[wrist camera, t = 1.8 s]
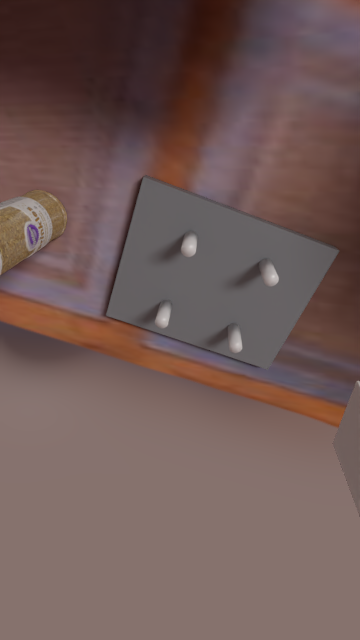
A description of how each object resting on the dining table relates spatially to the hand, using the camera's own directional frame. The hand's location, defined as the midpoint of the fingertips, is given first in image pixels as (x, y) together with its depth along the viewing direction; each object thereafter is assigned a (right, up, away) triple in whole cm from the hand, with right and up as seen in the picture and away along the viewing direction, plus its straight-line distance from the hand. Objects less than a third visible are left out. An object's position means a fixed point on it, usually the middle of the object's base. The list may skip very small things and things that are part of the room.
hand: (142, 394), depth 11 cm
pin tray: (+5, +6, +22) cm, 24 cm away
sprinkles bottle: (-11, +12, +21) cm, 27 cm away
